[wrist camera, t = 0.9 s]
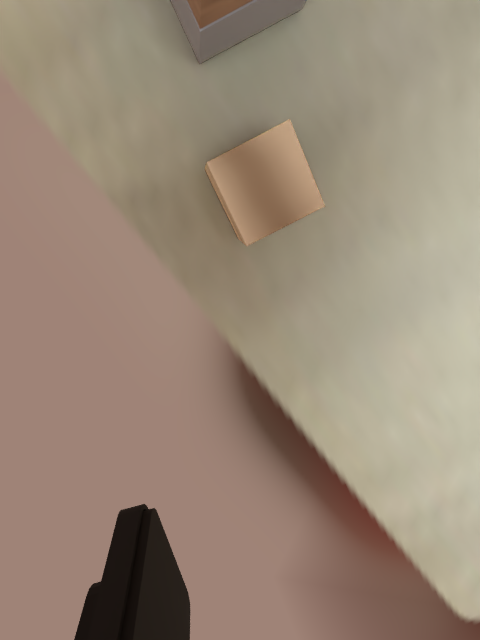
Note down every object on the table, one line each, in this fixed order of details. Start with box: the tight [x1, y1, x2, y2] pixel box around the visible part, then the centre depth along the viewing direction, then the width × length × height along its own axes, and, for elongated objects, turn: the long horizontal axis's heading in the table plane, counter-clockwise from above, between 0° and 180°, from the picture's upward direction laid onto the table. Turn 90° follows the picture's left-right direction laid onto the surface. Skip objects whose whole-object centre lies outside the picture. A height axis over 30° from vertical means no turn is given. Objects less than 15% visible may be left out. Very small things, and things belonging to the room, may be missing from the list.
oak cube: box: [205, 119, 325, 246], centre depth 25 cm, size 5×5×5 cm
